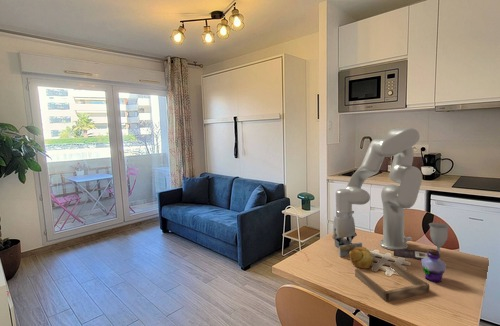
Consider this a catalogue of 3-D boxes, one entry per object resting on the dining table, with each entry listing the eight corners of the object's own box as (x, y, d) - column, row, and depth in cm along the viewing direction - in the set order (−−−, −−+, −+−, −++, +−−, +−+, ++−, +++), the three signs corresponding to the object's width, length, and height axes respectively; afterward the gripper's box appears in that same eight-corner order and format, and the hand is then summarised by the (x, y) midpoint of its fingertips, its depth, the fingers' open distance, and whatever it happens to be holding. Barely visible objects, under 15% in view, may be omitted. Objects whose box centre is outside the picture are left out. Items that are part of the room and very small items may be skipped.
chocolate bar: (394, 247, 138) (437, 253, 129) (394, 249, 138) (437, 255, 129) (393, 254, 130) (439, 261, 121) (393, 256, 130) (439, 263, 121)
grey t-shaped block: (347, 242, 146) (347, 233, 146) (362, 252, 134) (362, 243, 133) (326, 246, 144) (326, 236, 143) (340, 256, 131) (339, 246, 131)
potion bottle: (416, 278, 110) (416, 250, 108) (425, 271, 115) (425, 243, 114) (441, 287, 103) (442, 257, 102) (449, 279, 108) (450, 250, 107)
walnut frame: (393, 268, 118) (393, 262, 118) (429, 292, 101) (429, 284, 100) (355, 276, 114) (355, 269, 114) (385, 301, 97) (385, 293, 96)
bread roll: (352, 255, 133) (352, 239, 132) (374, 259, 128) (374, 242, 127) (348, 268, 121) (348, 250, 120) (372, 272, 117) (372, 254, 116)
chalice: (449, 264, 119) (450, 224, 117) (447, 271, 114) (448, 229, 112) (429, 260, 124) (430, 221, 122) (426, 265, 119) (427, 225, 117)
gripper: (354, 210, 141) (354, 244, 144) (325, 214, 138) (326, 249, 140) (363, 214, 134) (363, 250, 136) (332, 218, 131) (333, 255, 133)
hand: (344, 249), depth 138 cm, fingers closed on grey t-shaped block, 3 cm apart
